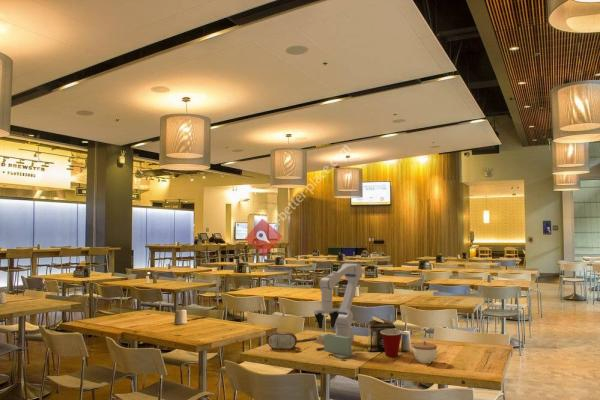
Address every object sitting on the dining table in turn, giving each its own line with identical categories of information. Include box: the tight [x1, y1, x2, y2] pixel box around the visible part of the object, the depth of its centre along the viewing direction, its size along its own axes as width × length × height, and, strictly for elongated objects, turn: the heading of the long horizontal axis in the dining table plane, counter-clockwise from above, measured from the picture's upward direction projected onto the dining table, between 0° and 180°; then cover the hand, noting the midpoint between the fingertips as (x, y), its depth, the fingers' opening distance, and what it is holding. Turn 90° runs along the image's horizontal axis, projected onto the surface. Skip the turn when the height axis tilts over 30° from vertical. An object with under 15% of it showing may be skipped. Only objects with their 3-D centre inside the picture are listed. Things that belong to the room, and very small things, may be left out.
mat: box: [328, 353, 357, 360], centre depth 250 cm, size 9×17×1 cm, turn 33°
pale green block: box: [323, 333, 353, 355], centre depth 251 cm, size 3×14×8 cm, turn 51°
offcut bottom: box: [315, 337, 324, 345], centre depth 271 cm, size 5×12×2 cm, turn 33°
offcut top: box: [318, 333, 326, 340], centre depth 271 cm, size 4×10×2 cm, turn 39°
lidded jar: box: [412, 340, 438, 364], centre depth 236 cm, size 11×11×9 cm
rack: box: [297, 337, 324, 351], centre depth 268 cm, size 18×23×2 cm
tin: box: [267, 331, 298, 350], centre depth 262 cm, size 15×3×8 cm, turn 84°
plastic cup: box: [379, 328, 403, 358], centre depth 248 cm, size 11×11×12 cm
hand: (326, 327), depth 265 cm, fingers open, 7 cm apart
